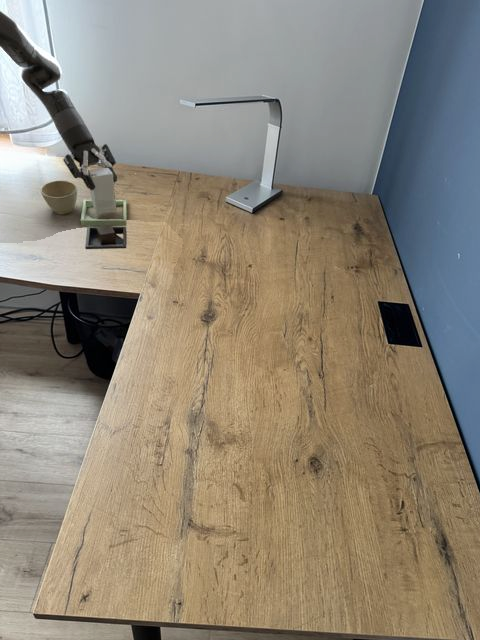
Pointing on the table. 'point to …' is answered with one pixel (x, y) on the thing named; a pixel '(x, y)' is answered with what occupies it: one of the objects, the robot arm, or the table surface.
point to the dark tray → (94, 244)
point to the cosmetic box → (102, 190)
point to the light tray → (90, 222)
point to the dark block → (106, 235)
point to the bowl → (60, 196)
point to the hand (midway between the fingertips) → (104, 185)
